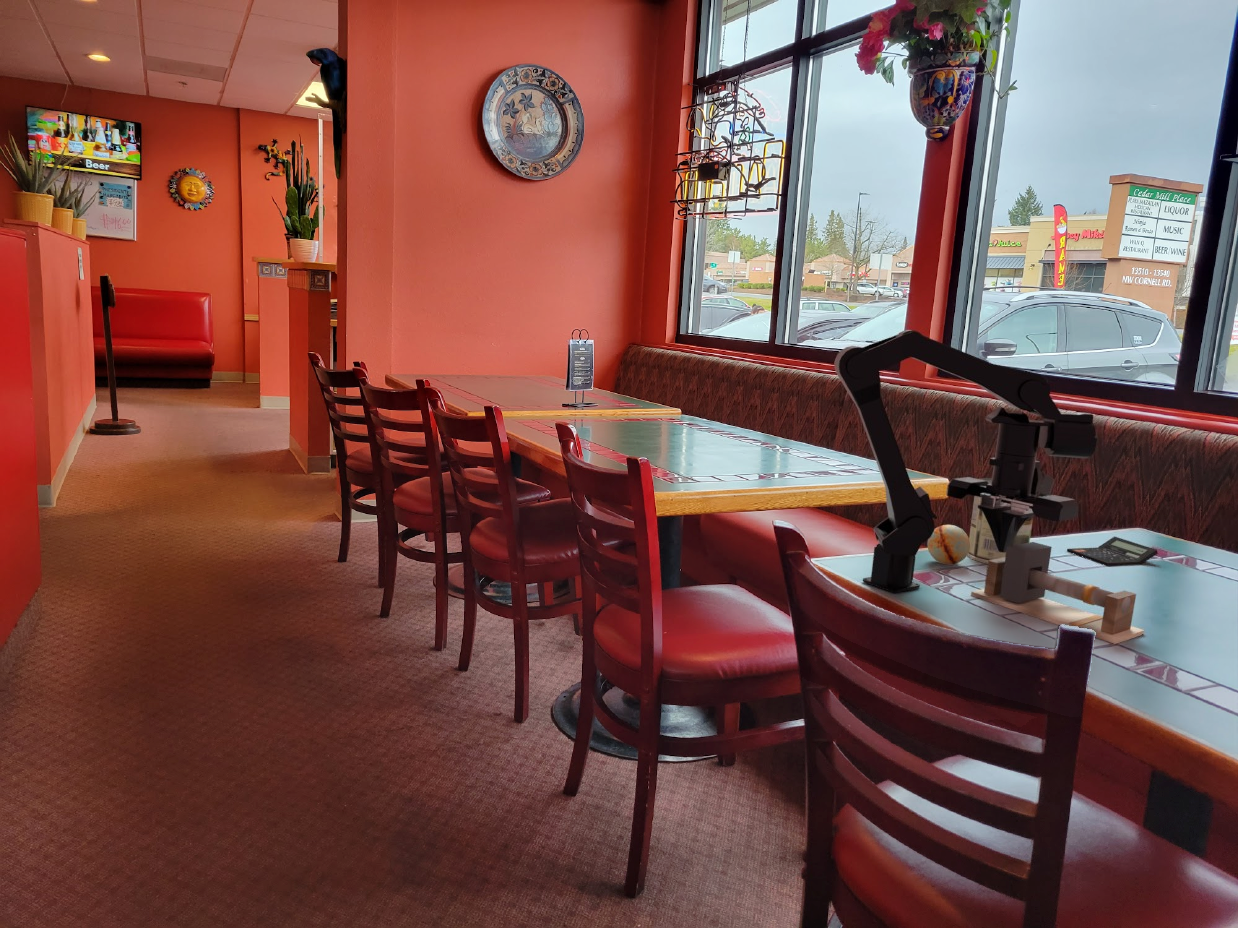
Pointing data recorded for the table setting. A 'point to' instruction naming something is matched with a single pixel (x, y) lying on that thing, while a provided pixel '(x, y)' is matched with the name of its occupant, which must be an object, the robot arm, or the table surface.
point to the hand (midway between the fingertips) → (1002, 551)
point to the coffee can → (983, 538)
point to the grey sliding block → (1024, 571)
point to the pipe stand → (1107, 627)
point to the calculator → (1117, 553)
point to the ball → (948, 544)
